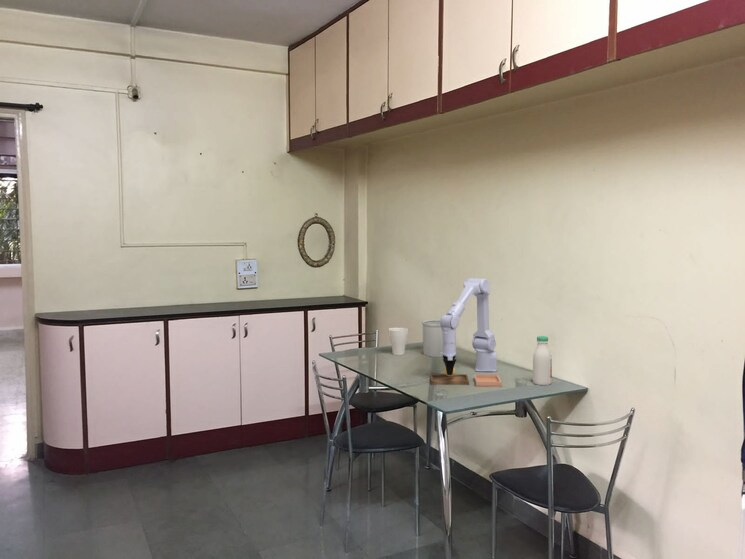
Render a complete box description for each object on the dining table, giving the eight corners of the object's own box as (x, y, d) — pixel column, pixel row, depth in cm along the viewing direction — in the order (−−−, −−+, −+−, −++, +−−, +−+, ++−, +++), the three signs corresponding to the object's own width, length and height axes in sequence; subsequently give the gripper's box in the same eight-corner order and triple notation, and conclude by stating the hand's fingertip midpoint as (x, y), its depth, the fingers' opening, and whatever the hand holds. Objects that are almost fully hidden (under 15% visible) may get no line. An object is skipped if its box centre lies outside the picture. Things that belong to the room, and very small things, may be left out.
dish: (497, 379, 270) (497, 374, 270) (501, 386, 258) (501, 382, 258) (473, 379, 271) (473, 374, 271) (476, 386, 259) (476, 381, 259)
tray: (466, 377, 274) (466, 374, 274) (469, 384, 262) (469, 381, 262) (430, 377, 275) (430, 374, 275) (431, 384, 263) (431, 381, 263)
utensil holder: (448, 357, 315) (448, 323, 314) (419, 356, 320) (419, 323, 318) (452, 352, 330) (452, 319, 328) (425, 350, 334) (425, 318, 332)
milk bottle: (548, 386, 257) (549, 339, 256) (530, 384, 262) (530, 337, 260) (553, 382, 264) (554, 336, 262) (535, 380, 268) (536, 334, 266)
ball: (455, 375, 270) (455, 364, 270) (455, 377, 266) (455, 366, 265) (444, 374, 271) (444, 364, 271) (444, 377, 266) (444, 366, 266)
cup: (389, 352, 332) (389, 327, 331) (409, 352, 331) (408, 327, 329) (387, 356, 322) (387, 330, 320) (407, 356, 320) (407, 330, 319)
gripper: (439, 339, 275) (439, 369, 276) (440, 345, 260) (440, 377, 261) (455, 339, 274) (455, 369, 275) (457, 345, 260) (457, 377, 261)
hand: (449, 373), depth 268 cm, fingers closed on ball, 5 cm apart
